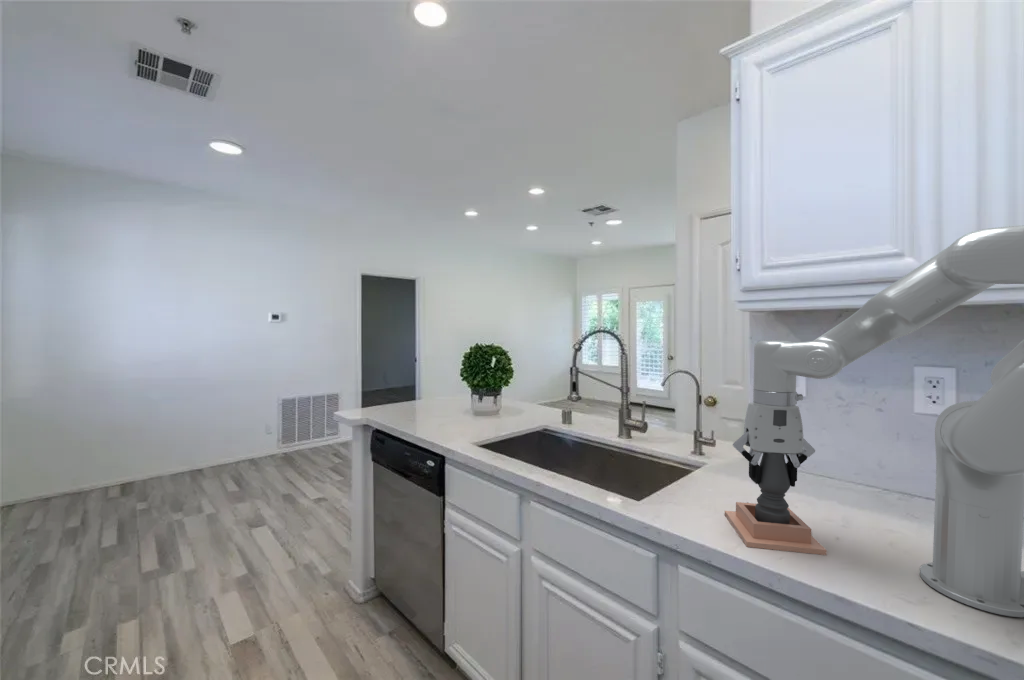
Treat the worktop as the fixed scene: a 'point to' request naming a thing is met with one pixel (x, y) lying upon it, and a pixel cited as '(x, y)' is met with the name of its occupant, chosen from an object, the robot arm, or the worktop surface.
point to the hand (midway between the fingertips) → (772, 482)
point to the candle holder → (774, 482)
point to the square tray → (773, 532)
